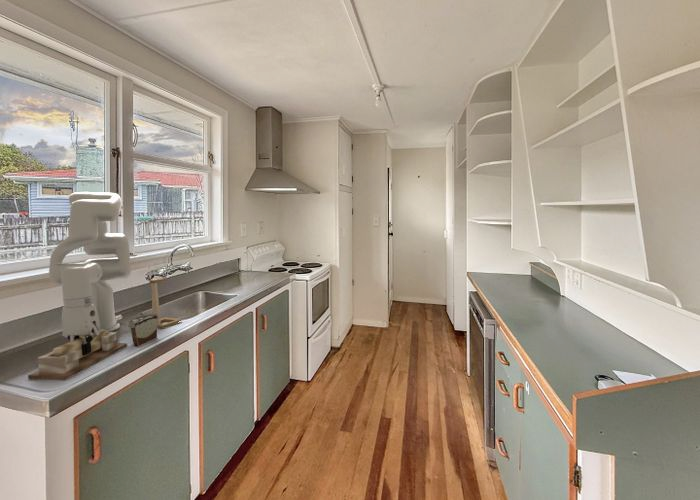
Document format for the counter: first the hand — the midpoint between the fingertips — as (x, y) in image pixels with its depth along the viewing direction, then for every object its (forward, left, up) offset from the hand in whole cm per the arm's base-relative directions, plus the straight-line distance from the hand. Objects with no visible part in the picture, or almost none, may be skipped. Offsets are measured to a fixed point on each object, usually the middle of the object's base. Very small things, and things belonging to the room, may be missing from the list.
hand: (82, 353), depth 113 cm
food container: (-18, +8, -3) cm, 20 cm away
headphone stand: (-38, +5, -3) cm, 38 cm away
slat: (0, 0, -1) cm, 1 cm away
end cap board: (0, 0, -3) cm, 3 cm away
